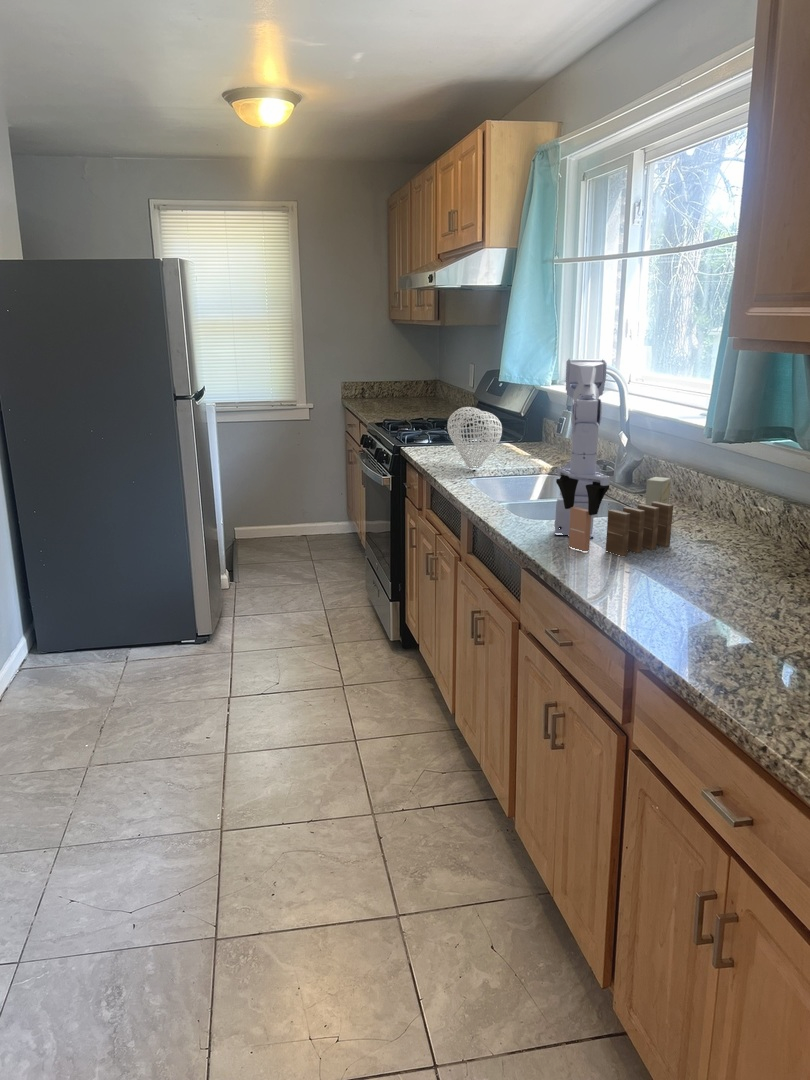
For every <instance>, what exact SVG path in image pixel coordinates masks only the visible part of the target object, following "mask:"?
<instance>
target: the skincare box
mask: <svg viewBox="0 0 810 1080" xmlns="http://www.w3.org/2000/svg"><path fill="white" fill-rule="evenodd" d="M671 480H672V479H671V478H670V477H661V476H660V477H659V476H654V477H650V478H649V479H647V480H646V492H645V502H644V503H645V505H649V506H651V505H652V502H655V501H657V502H661V503H666V504H670V490H671Z"/></svg>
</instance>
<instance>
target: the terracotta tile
mask: <svg viewBox="0 0 810 1080" xmlns="http://www.w3.org/2000/svg"><path fill="white" fill-rule="evenodd" d="M590 526H591V515H589V512H588V510H587V509H583V508H579V507H571V510H570V529H569V536H568V547H569V546H570V547H572V548H575V549H579V550H582V551H588V550H589V551H590V544H591V543H590V542H591V538H590Z"/></svg>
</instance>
